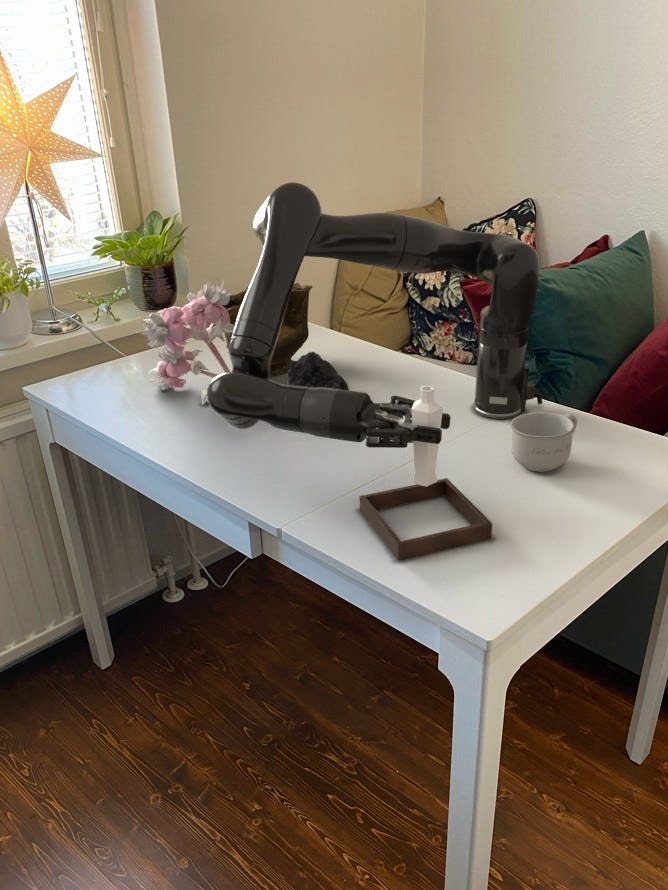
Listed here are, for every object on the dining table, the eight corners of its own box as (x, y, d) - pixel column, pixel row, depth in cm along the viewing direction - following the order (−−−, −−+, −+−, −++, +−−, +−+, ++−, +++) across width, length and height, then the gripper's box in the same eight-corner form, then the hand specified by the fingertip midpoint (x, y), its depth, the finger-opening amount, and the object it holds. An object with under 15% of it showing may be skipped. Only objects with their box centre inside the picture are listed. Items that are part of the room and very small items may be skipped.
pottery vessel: (239, 391, 182) (230, 296, 172) (207, 377, 189) (196, 285, 178) (325, 358, 198) (322, 270, 187) (293, 347, 204) (288, 261, 194)
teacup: (531, 483, 149) (535, 441, 145) (495, 457, 158) (499, 416, 153) (595, 466, 155) (602, 424, 151) (558, 441, 163) (563, 402, 159)
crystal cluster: (333, 422, 171) (337, 373, 166) (270, 407, 174) (272, 359, 169) (357, 401, 183) (361, 355, 178) (297, 387, 186) (300, 341, 181)
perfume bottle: (437, 488, 132) (441, 396, 123) (408, 485, 132) (410, 393, 124) (442, 474, 135) (446, 383, 127) (414, 471, 136) (416, 381, 128)
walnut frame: (446, 492, 147) (447, 477, 145) (491, 538, 135) (492, 523, 133) (359, 510, 142) (359, 495, 140) (398, 560, 129) (398, 544, 128)
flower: (232, 354, 196) (170, 258, 180) (286, 374, 180) (224, 271, 164) (165, 412, 190) (95, 319, 174) (215, 438, 174) (142, 338, 158)
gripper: (317, 410, 125) (434, 426, 121) (350, 373, 136) (458, 386, 132) (320, 457, 129) (432, 473, 125) (351, 417, 140) (455, 431, 136)
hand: (445, 428), depth 128 cm, fingers closed on perfume bottle, 4 cm apart
